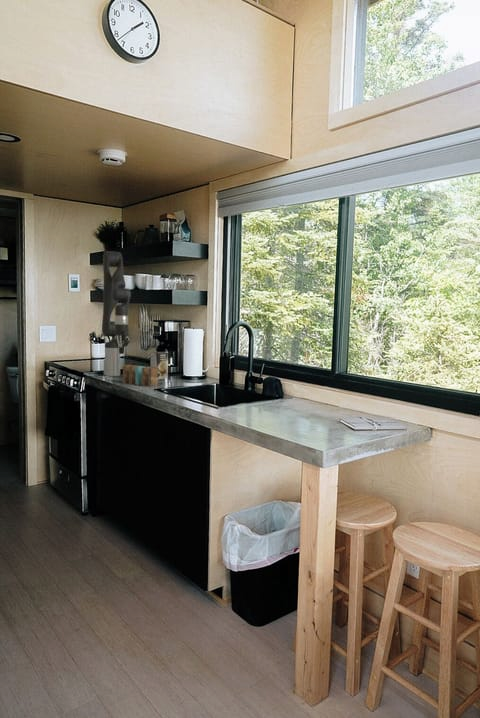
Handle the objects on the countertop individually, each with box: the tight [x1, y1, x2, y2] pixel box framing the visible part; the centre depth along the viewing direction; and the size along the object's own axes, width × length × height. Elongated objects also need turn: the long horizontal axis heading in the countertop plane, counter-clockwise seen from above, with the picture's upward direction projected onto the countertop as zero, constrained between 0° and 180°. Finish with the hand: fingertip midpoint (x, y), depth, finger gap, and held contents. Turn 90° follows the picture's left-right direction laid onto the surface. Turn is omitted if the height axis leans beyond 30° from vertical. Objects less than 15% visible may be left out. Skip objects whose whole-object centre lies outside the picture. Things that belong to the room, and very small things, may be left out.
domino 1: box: [122, 364, 133, 384], centre depth 300 cm, size 2×5×10 cm, turn 145°
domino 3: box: [135, 365, 146, 386], centre depth 294 cm, size 2×5×10 cm, turn 146°
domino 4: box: [141, 366, 151, 387], centre depth 291 cm, size 2×5×10 cm, turn 145°
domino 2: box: [128, 365, 139, 385], centre depth 297 cm, size 2×5×10 cm, turn 145°
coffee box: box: [150, 351, 169, 380], centre depth 321 cm, size 9×6×16 cm
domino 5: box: [147, 367, 159, 387], centre depth 288 cm, size 2×5×10 cm, turn 145°
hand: (121, 353), depth 301 cm, fingers closed
